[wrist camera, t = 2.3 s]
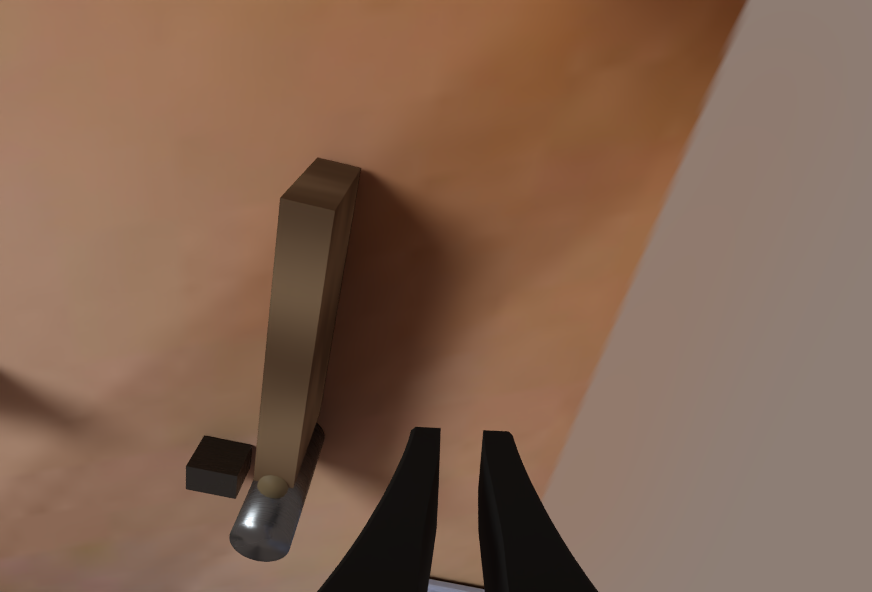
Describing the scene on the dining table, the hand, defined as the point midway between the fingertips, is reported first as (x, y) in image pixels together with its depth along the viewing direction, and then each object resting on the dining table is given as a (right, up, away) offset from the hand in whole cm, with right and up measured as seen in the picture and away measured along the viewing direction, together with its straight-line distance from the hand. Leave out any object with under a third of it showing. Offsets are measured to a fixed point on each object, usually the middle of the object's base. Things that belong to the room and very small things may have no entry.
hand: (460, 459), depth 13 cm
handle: (-6, +3, +9) cm, 11 cm away
